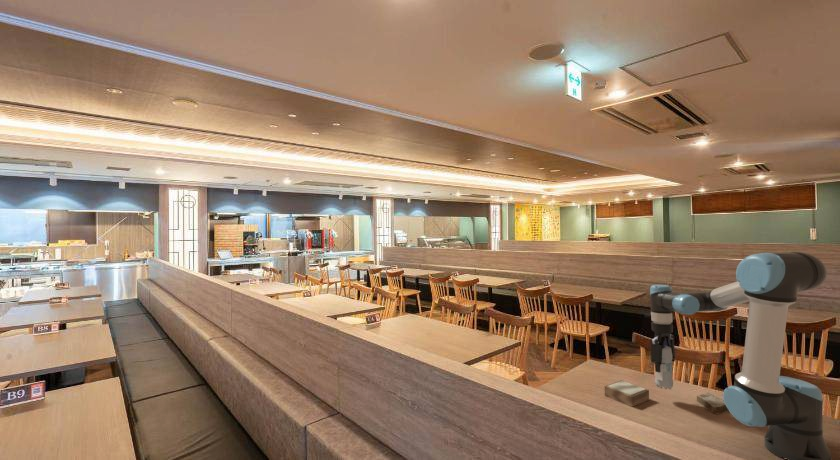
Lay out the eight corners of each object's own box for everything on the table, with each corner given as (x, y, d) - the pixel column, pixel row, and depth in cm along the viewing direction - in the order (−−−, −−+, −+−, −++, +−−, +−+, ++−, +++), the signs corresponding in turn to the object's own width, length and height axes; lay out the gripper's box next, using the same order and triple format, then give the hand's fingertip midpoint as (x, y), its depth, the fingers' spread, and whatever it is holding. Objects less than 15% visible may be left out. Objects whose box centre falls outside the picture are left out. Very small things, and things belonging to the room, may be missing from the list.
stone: (690, 397, 160) (690, 390, 160) (712, 398, 159) (712, 390, 159) (713, 414, 145) (713, 406, 145) (737, 415, 144) (737, 407, 144)
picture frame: (649, 399, 158) (648, 389, 158) (631, 406, 152) (631, 396, 152) (621, 389, 169) (621, 379, 169) (604, 395, 163) (604, 385, 163)
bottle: (651, 386, 159) (649, 338, 159) (661, 383, 162) (659, 336, 162) (667, 391, 153) (665, 342, 153) (677, 388, 156) (675, 340, 156)
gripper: (665, 317, 166) (667, 370, 165) (639, 323, 156) (641, 379, 156) (683, 320, 159) (686, 376, 159) (658, 327, 150) (660, 385, 149)
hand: (664, 377), depth 157 cm, fingers closed on bottle, 6 cm apart
